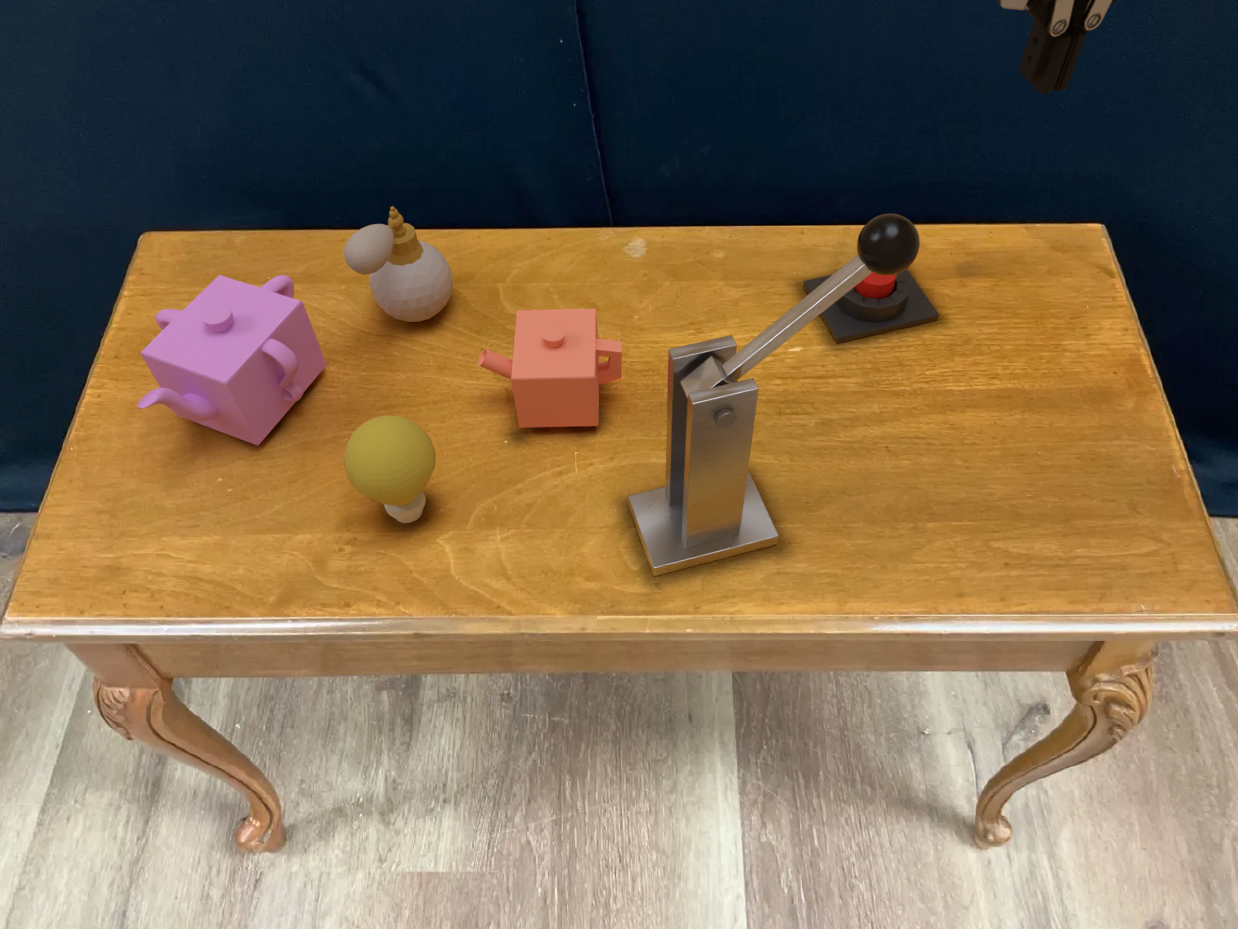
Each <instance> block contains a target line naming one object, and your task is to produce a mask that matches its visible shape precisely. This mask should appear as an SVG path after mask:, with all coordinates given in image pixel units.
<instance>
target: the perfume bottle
mask: <svg viewBox="0 0 1238 929" xmlns="http://www.w3.org/2000/svg"><path fill="white" fill-rule="evenodd" d="M388 215H389V217H388V220H387V224H383V223H375V224H369V225H367V226H364V227H361V228H360V229H359V230H357V231H355V232H354V233H352V235H351V236H350V237H349V238H348V239H347V241H346V243H345V246H344V249H343V256H344V260H345V263H346V264H347V266H348V267H349V268H350V269H351V270H352V271H353V272H356V273H357V274H361V275H369V287H370V291H371V294H372V297H373V298H374V300H375V302H376V303H377V305H378V307H379V308H380V309H381V310H383V311H384V312H385V313H386V314H387V315H388V316H390V317H393V318H394V319H396V320H400V321H404V322H406V323H407V322H408V323H414V322H415V323H416V322H417V323H419V322H422V321H426V320H430V319H431V318H433V317H434V316H436V315H437V314H438V313H440V312H441V311H442V310H443V309H444V308H445V307H446V305H448V302H449V300H450V298H451V295H452V291H453V286H454V285H453V273H452V270H451V267H450V264H449V262H448V260H447V259H446V257H445V256H444V255H443V253H441V251H440V250H438V248H437V247H435V246H433V245H431V244H429V243H428V242H425V241H422V240H419V239H418V236H417V232H416V229H415V226H413V225H412V224H410V223H407V222H404V217H403V215H401V213H399V211H398V209H397V208H395V206H390V209H389V213H388Z"/></svg>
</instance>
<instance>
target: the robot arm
mask: <svg viewBox="0 0 1238 929" xmlns="http://www.w3.org/2000/svg"><path fill="white" fill-rule="evenodd" d="M994 1H995V2H996V3H997V4H998V5H999V6H1000V7H1001V8H1002V9H1006V10H1016V11H1027V14H1028V15H1029V16H1030V18H1032V20H1033V22H1032V25H1031V28H1030V32H1029V34H1028V38H1027V40H1026V44H1025V47H1024V50H1023V52H1022V56H1021V59H1020V65H1019V73H1020V74H1021V75H1022V76H1023V77H1024V79H1025V80H1026V81H1028V83H1030V84H1031V85H1032V87H1034V89H1036V91H1037V92H1038V93H1039V94H1040V95H1045V94H1049V93H1051V92H1053V90H1054V91H1055V92H1061V91H1065V90H1066V89H1067V88H1068V85H1069V83H1070V81H1071V78H1072V75H1073V72H1074V70H1075V66H1076V64H1077V61H1078V59H1079V56H1080V53H1081V50H1082V48H1083V45H1084V43H1085V40H1086V37H1087V34H1088V31H1093V30H1095V29H1096V28H1097V27H1099V26H1100V24H1101V23H1102V21H1103V20H1104V18H1105V16H1106V13H1107V12H1108V10H1109V8H1110V7H1111V6H1112V5H1113V4H1114V3H1115V2H1116V1H1117V0H994Z"/></svg>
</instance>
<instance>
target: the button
mask: <svg viewBox="0 0 1238 929" xmlns="http://www.w3.org/2000/svg"><path fill="white" fill-rule="evenodd" d="M896 276H897V274H895V275H888V276H885V275H879V274H875V273H873V272H872V273H871V274H870V275H869V276H867V277H866V278H865V279H864V280H862V281H861V282H860V283H859V284H857V285H856V286H855V287H854V288H855V290H856V291H857V292H858V293H859V294H860V295H862V296H864V297H867V298H874V299H881V298H885V297H887V296H889V295H890V294H891V293H892V291H893V288H894V284H895V280H896Z"/></svg>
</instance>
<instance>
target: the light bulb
mask: <svg viewBox="0 0 1238 929" xmlns="http://www.w3.org/2000/svg"><path fill="white" fill-rule="evenodd" d="M436 453H437V452H436V450H435V447H434V444H433V441H432V439H431V436H429V434H428V433H427V432H426V431H425V429H423V428H422V426H421V425H419V424H418V423H416V422H415V421H414V420H411V419H409V418H407V417H405V416H399V415H395V414H391V415H390V414H388V415H379V416H376V417H373V418H371V419H368V420H367V421H365V422H363V423H362V424H360V425H359V426H358V427H357V428H356V429H355V430H354V431H353V433H352V434H351V436H350V438H349V440H348V441H347V443H346V444H345V449H344V457H343V465H344V469H345V470H344V471H345V473H346V478H347V480H348V482H349V483H350V484H351V486H352V487H353V488H354V489H355V491H356V493H357V492H358V493H360V494H361V495H363V496H365V497H366V498H368V499H370V500H373V501H374V502H377V503H379V504H381V505H383V507H384V509H385V511H386V513H387V514H388V515H389V516H390V517H391V518H393V519H395V520H396V521H397V522H399V523H403V524H409V523H413V522H416V521H417V520H419V518H420V517H421V516H422V514H423V513H424V512H423V511H424V507H425V506H426V500H427V498H426V496H425V493H424V490H425V489H426V487H427V485H428V483H429V481H430V479H431V477H432V475H433V472H434V470H435V468H436V461H437V460H436V459H437V454H436Z"/></svg>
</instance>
